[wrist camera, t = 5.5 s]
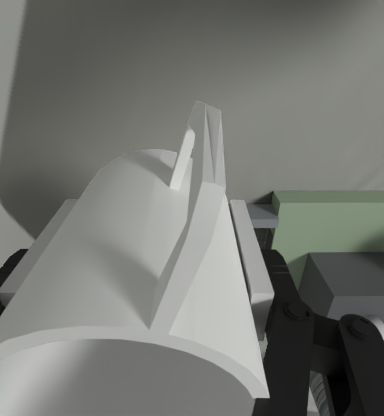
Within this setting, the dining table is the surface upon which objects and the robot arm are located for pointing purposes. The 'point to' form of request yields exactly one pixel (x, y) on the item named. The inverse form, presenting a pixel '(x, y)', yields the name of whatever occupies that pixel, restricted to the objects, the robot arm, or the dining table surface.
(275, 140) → the dining table surface
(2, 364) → the cup
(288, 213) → the square frame with panel
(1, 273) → the robot arm
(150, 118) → the dining table surface
